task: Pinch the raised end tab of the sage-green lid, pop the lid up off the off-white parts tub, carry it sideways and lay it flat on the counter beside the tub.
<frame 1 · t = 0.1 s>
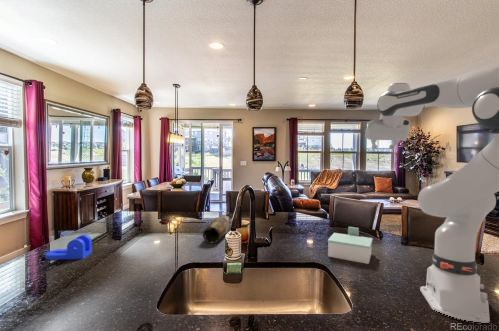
hand: (382, 148, 128), 52 cm above the worktop, fingers open, 8 cm apart
tub: (350, 255, 132), on the worktop
bracket: (67, 256, 128), on the worktop
lid: (350, 241, 132), point 7 cm above the worktop, touching tub
decorative bottle: (221, 233, 169), on the worktop
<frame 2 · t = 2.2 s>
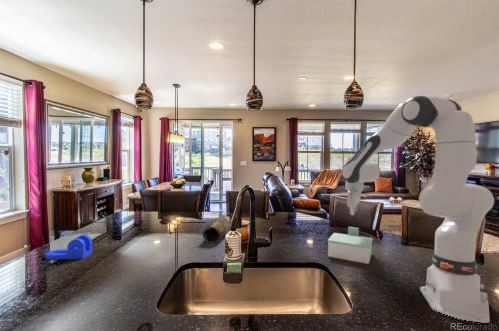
hand: (353, 213, 140), 19 cm above the worktop, fingers open, 8 cm apart
nothing on the worktop moved.
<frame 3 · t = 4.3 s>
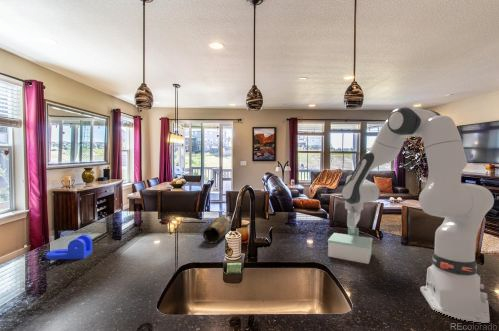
hand: (353, 232, 140), 9 cm above the worktop, fingers closed on lid
lid: (350, 241, 132), point 7 cm above the worktop, touching gripper, tub
everything else where it was.
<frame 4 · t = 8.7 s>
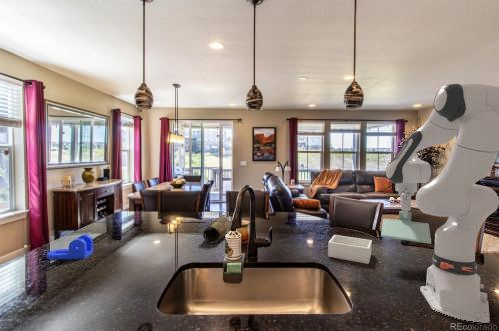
hand: (405, 216, 129), 20 cm above the worktop, fingers closed on lid
lid: (404, 231, 122), point 15 cm above the worktop, tilted 18°, touching gripper
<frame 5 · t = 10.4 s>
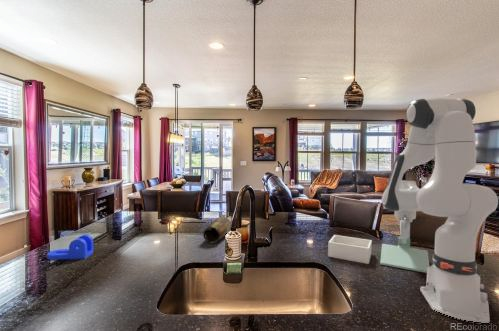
hand: (404, 242, 129), 7 cm above the worktop, fingers closed on lid
lid: (404, 258, 122), point 2 cm above the worktop, tilted 18°, touching gripper
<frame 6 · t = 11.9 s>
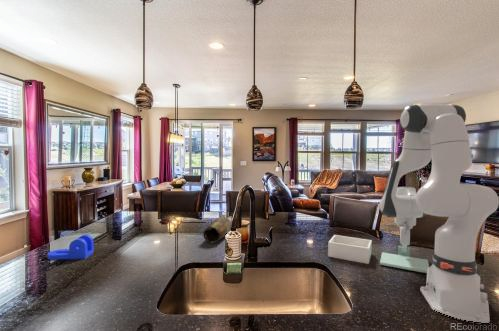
hand: (404, 249, 129), 4 cm above the worktop, fingers open, 6 cm apart
lid: (404, 263, 121), point 1 cm above the worktop
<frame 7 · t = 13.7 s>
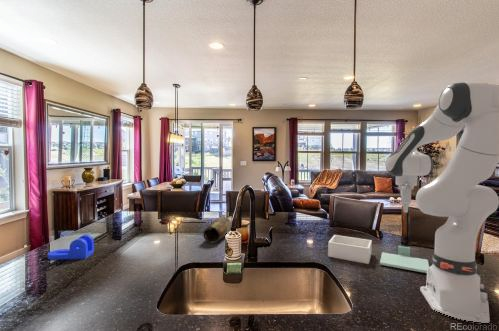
hand: (405, 210, 128), 23 cm above the worktop, fingers open, 8 cm apart
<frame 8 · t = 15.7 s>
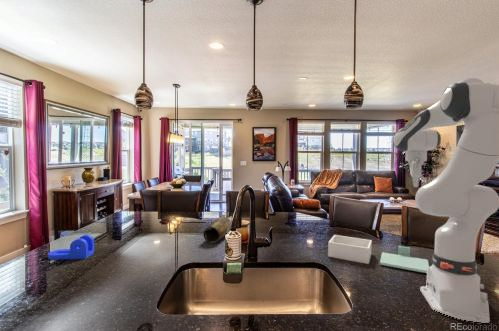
hand: (415, 186, 132), 34 cm above the worktop, fingers open, 8 cm apart
at the end: lid inside the target area (0.1 cm from its centre), point 0.6 cm above the worktop; lid touching worktop; the gripper is holding nothing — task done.
